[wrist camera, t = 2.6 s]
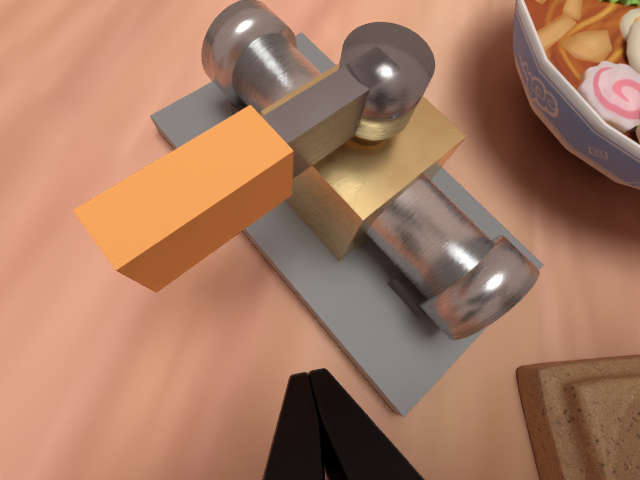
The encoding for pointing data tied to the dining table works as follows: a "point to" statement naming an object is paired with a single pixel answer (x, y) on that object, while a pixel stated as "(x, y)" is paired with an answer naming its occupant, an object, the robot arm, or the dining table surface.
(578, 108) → the ramen bowl
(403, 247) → the valve assembly
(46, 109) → the dining table surface
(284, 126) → the valve lever
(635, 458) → the candle holder
